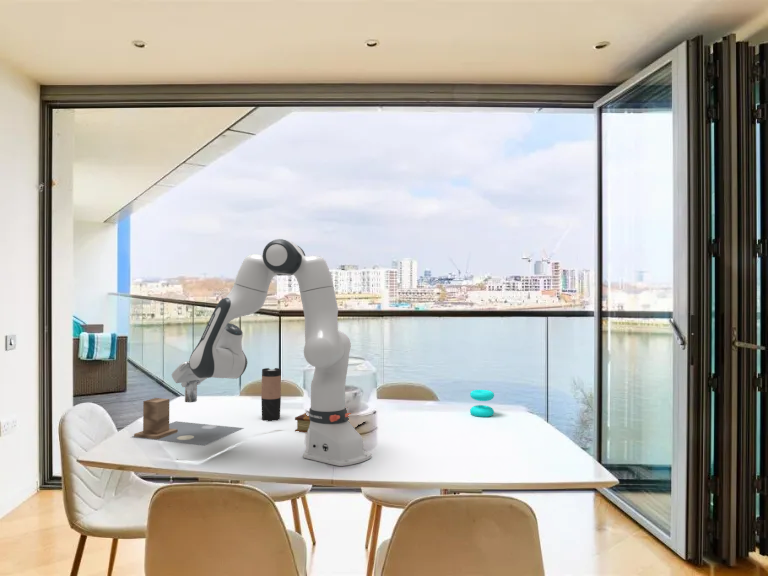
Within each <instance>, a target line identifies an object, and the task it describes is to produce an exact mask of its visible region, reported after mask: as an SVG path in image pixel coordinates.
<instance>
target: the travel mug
mask: <svg viewBox="0 0 768 576" xmlns="http://www.w3.org/2000/svg"><path fill="white" fill-rule="evenodd" d="M281 392H282V369H281V368H279V367H275V368H271V369H270V368H269V367H265V368H262V370H261V395H260V396H261V420H262V419H263V420H262V421H264V420H268V421H267V422H273V421H272V420H276V421H279V420H280V418H281V402H282V401H281V400H282V393H281ZM278 419H279V420H278Z"/></svg>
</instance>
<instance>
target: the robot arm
mask: <svg viewBox="0 0 768 576" xmlns="http://www.w3.org/2000/svg"><path fill="white" fill-rule="evenodd" d="M276 276H281V277H282V276H294V277H295V278H296V280H297V284H298V290H299V294H300V299H301V305H302V309H303V315H304V337H305V338H304V339H305V340H304V341H305V343H304V347H303V355H304V358H305V361H306V362H307V363H308V364H309V365H311V366H313V368H314V373H313V377H312V379H311V383H310V407H309V409H308V410H309V411H308V412H309V420H310V425H309V428H308V432H307V433H306V441H305V451H304V452H303V455H302V458H303V459H307V460H308V459H309V460H311V461H316V462H320V463H323V464H329V465H332V466H336V467H337V466H338V467H342V466H343V467H344V466H352V465H355V464H360V463H363V462H365V461H367V460H370V459H371V457H372V453H370V452H368V451H366V450H365V448H364V447H365V446H364V440H363V439H364V438H363V437H362V435H361V434H360V433H359V432H358V431H357V430H356V428H354V427H353V426H352V425H351V424H350V422H349V421H348V420H349V418H348V417H349V416H348V415H349V414H351V413H347V410H346V408H345V407H346V381H347V374H348V369H349V368H348V367H349V360H350V359H349V358H350V351H351V345H352V344H351V340H350V338H349V336H348V335H347V334H346V333H344V332H343V331H340V330H339V326H338V325H339V324H338V321H339V319H338V315H339V306H338V302H337V298H336V297H337V296H336V292H335V291H336V290H335V286H334V282H333V278H332V275H331V271H330V268H329V266H328V264H327V261H326V259H324V257H321V256H318V255H306V254H305V251H304V250H303V248H301V246H300V245H297V244H296V243H294V242H293V241H290V240H287V239H283V238H277V239H274V240H271V241H270V242H268V243H267V244H266V245H265V246H264V248H263V250H262V254H257V253H254V254H253V253H251V254H249V255H247V256H246V257H244V259H243V261H242V262H241V265H240V267H239V270H238V271H237V274H236V277H235V280H234V284H233V286H232V287H231V288H232V289H231V290H230V292H229V293H228V294H227V295H226V297H224V298H222V299H220V301H218V303H217V304H216V306H215V307H214V309H213V312H212V314H211V315H210V318H209V320H208V322H207V324H206V327H205V329H204V331H203V333H202V335H201V337H200V340H199V342H198V344H197V345H196V346H195V348H194V349H193V351H192V352H191V355H190V357H189V360H188V361H184V362H182V363H180V364H179V365H178V366H177V367H176V369H175V370H174V371H173V372H172V374H171V378H172V379H173V381H174V382H175V383H176V384H181V388H185V387H187V386H188V385H189V383H188V382H189V381H194V380H197V386H198V385H201V383H203V382H204V381H205V380H207V379H211V378H212V379H213V378H215V379H216V378H217V379H233V380H234V379H236V380H237V379H239V378H240V377H241V376H243V374H244V373H245V372H246V370H247V367H248V359H247V356H246V354H245V353H244V350H243V347H242V346H243V345H242V340H243V337H244V335H243V334H244V333H243V330H242V329H241V328H240V327H239V326H237V325H236V324H234V323H230V322H232V321H233V320H235V319H238V318H241V317H245V316H246V317H247V316H249V315H253V314H255V313H257V312H258V311H260V310H261V309H262V307H263V306H264V304H265V301H266V300H267V296H268V292H269V288H270V285H271V283H272V280H273V279H274V278H275V277H276Z"/></svg>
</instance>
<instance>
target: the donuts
mask: <svg viewBox="0 0 768 576" xmlns="http://www.w3.org/2000/svg"><path fill="white" fill-rule="evenodd" d="M469 396H470V398H471V399H473V400H474V401H479V402H488V401H492V400H493V399H494V397H495V393H494V392H493V391H491V390H489V389H488V390H487V389H473V390H471V391H470V395H469ZM469 412H470V414H471V416H474V417H478V418H479V417H480V418H488V417H491V416H493V415H494V414H495V411H494V408H493V407H491V406H489V405H483V404H479V405H478V404H477V405H473V406H472V407H470V410H469Z"/></svg>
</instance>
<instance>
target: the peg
mask: <svg viewBox="0 0 768 576" xmlns="http://www.w3.org/2000/svg"><path fill="white" fill-rule="evenodd" d="M188 383H189V385H188V386H187V387H184V402H185V403H196V402H197V401H198V385H197V380H194V381H189V382H188Z"/></svg>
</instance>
